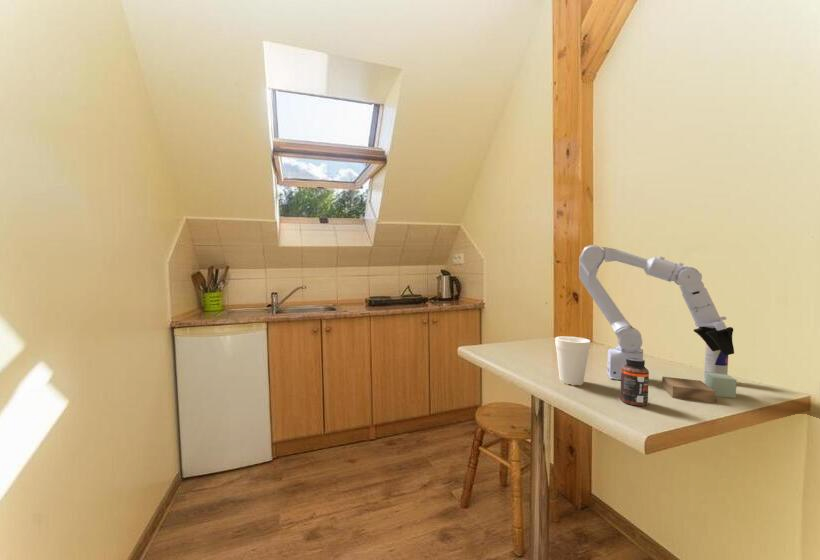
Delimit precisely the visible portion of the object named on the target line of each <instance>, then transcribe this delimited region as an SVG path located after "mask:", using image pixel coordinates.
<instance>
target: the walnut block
mask: <svg viewBox="0 0 820 560" xmlns="http://www.w3.org/2000/svg"><path fill="white" fill-rule="evenodd" d="M661 381H662V382H661V384H662V385H661V387H662V389H663V390H664V391H666V393H667V394H668V395H669V396H670V397H671V398H672V399H680V400H686V401H687V400H688V401H695V402H696V401H697V402H703V403H711V404H712V403H713V404H715V403H716V401H715V400H716V396H715V391H714V390H713V389H712V388H710V387H709V386H707V385H706V384H705V382H704V381H701V380H697V379H688V378H679V377H670V376H669V377H668V376H662V379H661Z"/></svg>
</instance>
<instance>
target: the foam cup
mask: <svg viewBox="0 0 820 560" xmlns="http://www.w3.org/2000/svg"><path fill="white" fill-rule="evenodd" d="M554 341H555V343H554V344H555V345H554V347H555V350H556V357H557V366H558V367H557V368H558V375H559V377H558V378H559V381H560V380H561V381H562V382H564V383H567V384H566V385H568V384H571V385H570V386H574V385H579V386H582V385H583V384H584V380H585V375H586V368H587V363H588V358H589V353H590V350H591V340H590V339H587V338H584V337H579V336H578V337H577V336H570V335H569V336H565V335H564V336H563V335H562V336H561V335H560V336H556V337H555V339H554ZM561 381H560V382H561ZM562 382H561V383H562ZM564 383H563V384H564ZM581 384H582V385H581Z"/></svg>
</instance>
